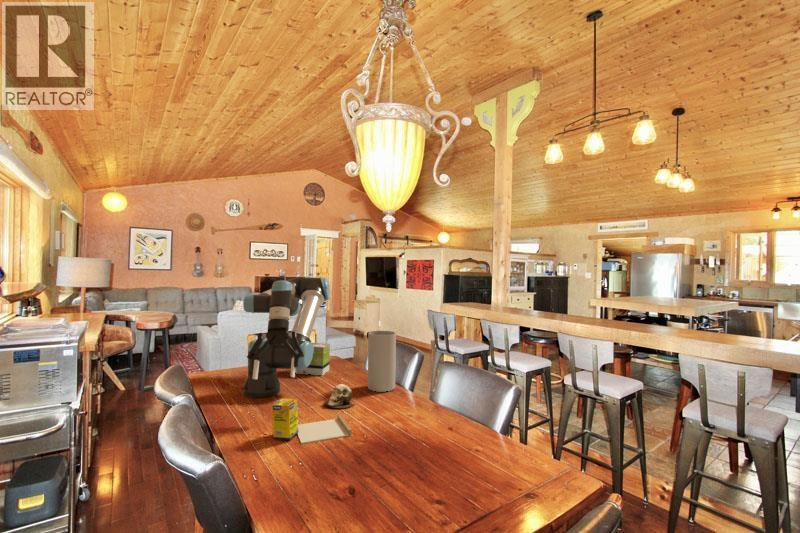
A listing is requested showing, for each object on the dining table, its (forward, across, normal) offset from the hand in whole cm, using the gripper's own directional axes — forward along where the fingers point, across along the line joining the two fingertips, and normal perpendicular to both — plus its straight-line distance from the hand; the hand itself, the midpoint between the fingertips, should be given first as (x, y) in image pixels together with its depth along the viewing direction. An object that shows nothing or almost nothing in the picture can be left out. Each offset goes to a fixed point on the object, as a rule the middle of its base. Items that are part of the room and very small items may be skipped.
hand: (273, 378), depth 135 cm
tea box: (-11, -2, +61) cm, 62 cm away
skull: (+8, +20, +21) cm, 30 cm away
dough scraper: (+18, +19, -2) cm, 26 cm away
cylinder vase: (+1, +35, +41) cm, 54 cm away
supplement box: (+19, +8, -7) cm, 22 cm away
